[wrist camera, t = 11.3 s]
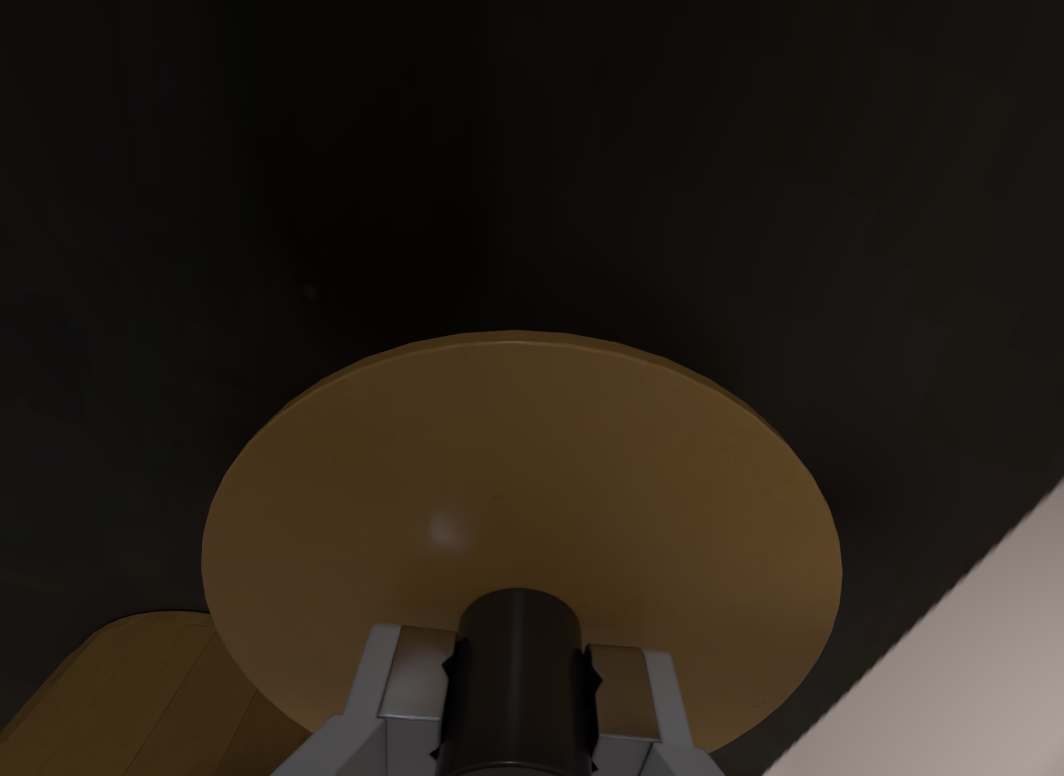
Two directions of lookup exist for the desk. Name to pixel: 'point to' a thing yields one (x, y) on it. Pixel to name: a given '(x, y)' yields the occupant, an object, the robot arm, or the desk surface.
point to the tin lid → (523, 541)
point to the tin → (149, 708)
